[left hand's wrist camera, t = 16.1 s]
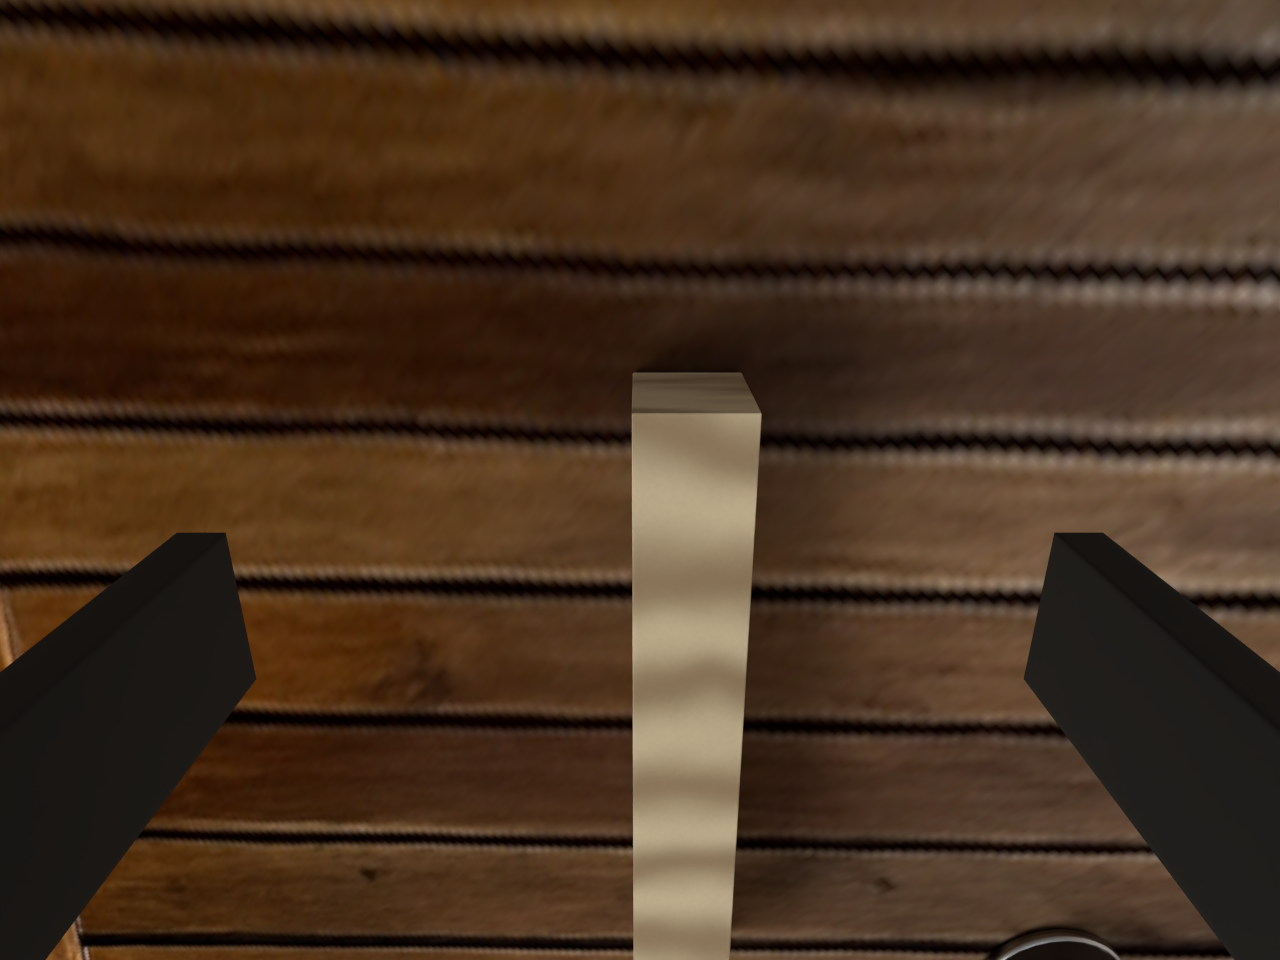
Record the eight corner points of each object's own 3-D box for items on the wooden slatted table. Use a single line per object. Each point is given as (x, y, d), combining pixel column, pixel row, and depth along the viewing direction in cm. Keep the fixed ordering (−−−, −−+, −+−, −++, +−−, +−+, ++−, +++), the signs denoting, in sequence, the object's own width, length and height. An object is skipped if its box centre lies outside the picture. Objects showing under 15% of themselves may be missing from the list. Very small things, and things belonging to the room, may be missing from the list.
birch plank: (633, 372, 37) (631, 412, 31) (741, 372, 37) (761, 412, 31) (634, 935, 50) (633, 1041, 44) (714, 935, 50) (724, 1041, 44)
